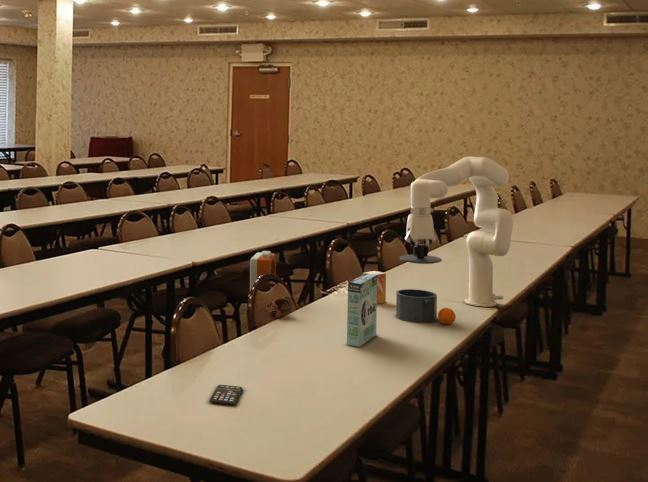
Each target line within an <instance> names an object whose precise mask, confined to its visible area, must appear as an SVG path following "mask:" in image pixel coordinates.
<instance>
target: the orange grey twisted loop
mask: <svg viewBox="0 0 648 482" xmlns="http://www.w3.org/2000/svg"><path fill="white" fill-rule="evenodd" d="M285 303H286V304H287V305H288V307H286V308H284V307H283V306H282V305H283V304H285ZM271 305H272V307H273V308H274V310H275V311H272V312H270V313H271V314H274V313H275V314H274V316H275V318H276V319H279V318H281V317H284V316H287V315H289V314H290V313H291V312H292V311H293V307H292V303H291V301H290V300H289V299H287V298H284V297H276V298H274V300H273V301H272V302H271V303H270V306H271Z"/></svg>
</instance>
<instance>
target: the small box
mask: <svg viewBox="0 0 648 482" xmlns="http://www.w3.org/2000/svg"><path fill="white" fill-rule="evenodd" d="M365 273H367V274H375V275H377V305H378V304H384V303H385V304H386V302H387V301H386V297H387V296H386V295H387V294H386V293H387V291H386V289H387V286H386V285H387V273H386V272H383V271H377V270H373V271H366V272H363V273H362V275H363V274H365Z"/></svg>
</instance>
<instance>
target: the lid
mask: <svg viewBox="0 0 648 482" xmlns="http://www.w3.org/2000/svg"><path fill="white" fill-rule="evenodd" d="M418 247H419V257H416V256H414V254H404V255H400V256H399V260H400V261H404V262H406V263H409V264H410V263H411V264H418V265H419V264H420V265H431V264H432V265H433V264H437V263H441V262H442V261H443V258H441V257H438V256H435V255H429V254H428V256H427V257H425V256H424V245H423V243H418Z"/></svg>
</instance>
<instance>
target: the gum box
mask: <svg viewBox="0 0 648 482" xmlns="http://www.w3.org/2000/svg"><path fill="white" fill-rule="evenodd" d="M364 273H365V272H364ZM377 305H378V304H377V275H375V274H367V273H365V274H363V273H362V274H361V275H360V276H358V277H355V278H354V279H352V280H349V281H348V282H347V316H346V317H347V318H346V320H347V321H346V322H347V323H346V346H350V347H357V348H360V347H362V346H363V345H365V344H366V343H367V342H368V341H370V340H371V339H373V338H374V337H376V336H377V313H378V311H377V309H378V308H377V307H378V306H377Z"/></svg>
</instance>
